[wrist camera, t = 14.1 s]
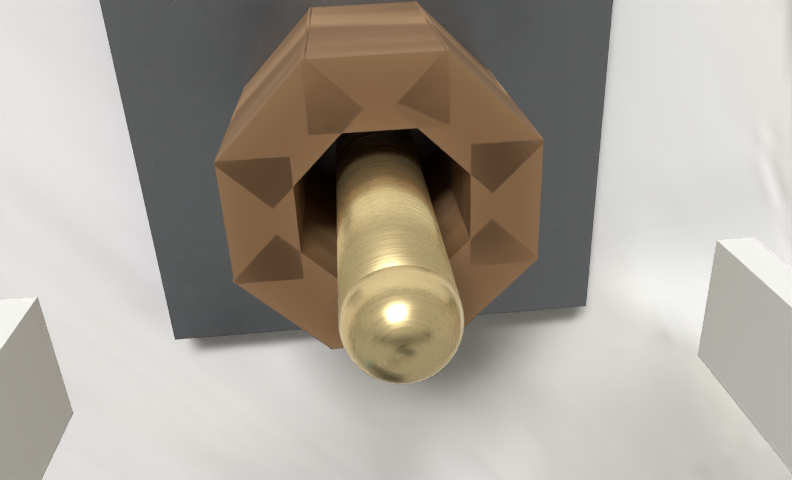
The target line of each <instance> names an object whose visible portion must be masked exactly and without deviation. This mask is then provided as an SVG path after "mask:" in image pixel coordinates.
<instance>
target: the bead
mask: <svg viewBox="0 0 792 480" xmlns="http://www.w3.org/2000/svg"><path fill="white" fill-rule="evenodd" d="M412 128H418V129H419V130H420V131H422V132H423V133H424V134H425V135H426V136H427V137H428V138H430V139H431V140H432V141H433V142H434V143H435V144H436V148H435V149H434V151H433V152H432V153H431V154H430V155H429V156H428V157H427V158H426V159H425V160H424V161H423V162H422V163H421V164H420V166H421V169H422V173H423V176H424V179H425V183H426V186H427V189H428V193H429V196H430V199H431V203H432V206H433V209H434V213H435V216H436V219H437V222H438V226H439V229H440V232H441V236H442V239H443V242H444V246H445V249H446V252H447V256H448V259H449V262H450V266H451V269H452V272H453V276H454V279H455V282H456V286H457V289H458V292H459V296H460V299H461V302H462V307H463V312H464V327H465V326H466V325H467V324H468V323H469V322H470V321H471V320H472V319H473V318H474V317H475V316H477V315H478V314H479V313H480V312H481V311H482V310H483V309H484V308H485V307H486V306H487V305H488V304H490V303H491V302H492V301H493V300H494V299H495V298H496V297H497V296H498V295H499V294H500V293H502V292H503V291H504V290H505V289H506V288H507V287H508V286H509V285H510V284H511V283H512V282H513V281H515V280H516V279H517V278H518V277H519V276H520V275H521V274H522V273H523V272H524V271H525V270H526V269H528V268H529V267H530V266H531V265H532V264H533V263H534V262H535V261H537V259H538V257H537V256H538V237H539V218H540V200H541V181H542V162H543V143H544V139H543V138H542V137H541V135H540V134H539V133H538V132H537V130H536V129H535V128H534V126H533V125H532V124H531V123H530V121H529V120H528V119H527V118H526V116H525V115H524V114H523V112H522V111H521V110H520V109H519V107H518V106H517V105H516V104H515V102H514V101H513V100H512V99H511V97H510V96H509V95H508V93H507V92H506V91H505V90H504V88H503V87H502V86H501V85H500V83H499V82H498V81H497V79H496V78H495V77H494V76H493V74H492V73H491V72H490V71H489V70H487V69H486V68H485V67H484V66H483V65H482V64H481V63H480V62H479V61H478V60H477V59H476V58H475V57H474V56H473V55H472V54H471V53H470V52H468V51H467V50H466V49H465V48H464V47H463V46H462V45H461V44H460V43H459V42H458V41H457V40H456V39H455V38H454V37H453V36H452V35H451V34H450V33H449V32H448V31H447V30H446V29H444V28H443V27H442V26H441V25H440V24H439V23H438V22H437V21H436V20H435V19H434V18H433V17H432V16H431V15H430V14H429V13H428V12H427V11H426V10H425V9H424V8H423V7H422V6H420V4H419V3H418V1H413V2H395V3H378V4H361V5H343V6H326V7H312V6H311V7H309V10H308V11H307V12H306V13H305V15H304V16H303V17H302V18H301V19H300V21H299V22H298V23H297V24H296V25H295V27H294V28H293V29H292V30H291V32H290V33H289V34H288V35H287V36H286V38H285V39H284V40H283V41H282V42H281V44H280V45H279V46H278V47H277V48H276V50H275V51H274V52H273V53H272V54H271V56H270V57H269V58H268V59H267V60H266V62H265V63H264V64H263V65H262V66H261V68H260V69H259V70H258V71H257V73H256V74H255V75H254V76H253V77H252V79H251V80H250V81H249V82H248V83H247V85H245V86H244V89H243V91H242V94H241V96H240V99H239V101H238V104H237V106H236V109H235V111H234V114H233V116H232V119H231V121H230V123H229V126H228V128H227V131H226V133H225V136H224V138H223V141H222V143H221V146H220V148H219V151H218V153H217V156H216V158H215V161H214V164H213V165H214V166H215V170H216V176H217V182H218V188H219V194H220V200H221V206H222V212H223V218H224V224H225V230H226V236H227V242H228V248H229V254H230V260H231V266H232V271H233V277H234V280H233V282H234V283H235V284H237V285H239V286H240V287H242V288H243V289H244V290H246V291H247V292H249V293H250V294H252V295H253V296H255V297H256V298H258V299H259V300H261V301H262V302H264V303H265V304H266V305H268V306H269V307H271V308H272V309H274V310H275V311H277V312H278V313H280V314H281V315H283V316H284V317H286V318H287V319H288V320H290V321H291V322H293V323H294V324H296V325H297V326H299V327H300V328H302V329H303V330H305V331H306V332H308V333H309V334H311V335H312V336H313V337H315V338H316V339H318V340H319V341H321V342H322V343H324V344H325V345H327V346H328V347H330V349H339V348H344V346H343V343H342V341H341V338H340V333H339V326H338V269H337V203H336V178H335V177H333V176H332V175H331V174H330V173H328V172H327V171H326V170H325V169H323V168H322V167H321V166H320V165H318V164H317V163H316V161H317V160H318V159H319V158H320V157H321V155H322V154H323V153H324V152H325V151H326V150H327V149H328V148H329V147H330V145H331V144H332V143H333V142H334V141H335V140H336V139H337V138H338V137H339V136H340V134H341V133H352V132H367V131H382V130H397V129H412Z"/></svg>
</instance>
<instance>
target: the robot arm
mask: <svg viewBox="0 0 792 480" xmlns="http://www.w3.org/2000/svg"><path fill="white" fill-rule="evenodd" d="M698 356H699V357H700V359H701V360H702V361H703V362H704V364H705V365H706V366H707V367H708V369H709V370H710V371H711V372H712V374H713V375H714V376H715V378H716V379H717V380H718V381H719V383H720V384H721V385H722V386H723V388H724V389H725V390H726V391H727V393H728V394H729V395H730V396H731V398H732V399H733V400H734V401H735V403H736V404H737V405H738V406H739V408H740V409H741V410H742V411H743V413H744V414H745V415H746V416H747V418H748V419H749V420H750V421H751V423H752V424H753V425H754V426H755V428H756V429H757V430H758V431H759V433H760V434H761V435H762V436H763V438H764V439H765V440H766V441H767V443H768V444H769V445H770V447H771V448H772V449H773V450H774V452H775V453H776V454H777V455H778V457H779V458H780V459H781V460H782V462H783V463H784V464H785V465H786V467H787V468H788V469H789V470H790V472H791V473H792V267H790V266H789V265H788V264H787V263H786V262H784V261H783V260H782V259H781V258H779V257H778V256H777V255H776V254H774V253H773V252H772V251H771V250H770V249H768V248H767V247H766V246H765V245H763V244H762V243H761V242H760V241H759V240H757V239H756V238H755V237H750V238H737V239H725V240H717V243H716V249H715V255H714V261H713V267H712V273H711V279H710V285H709V291H708V297H707V303H706V309H705V315H704V321H703V327H702V333H701V339H700V345H699V351H698ZM72 415H73V411H72V408H71V404H70V401H69V398H68V395H67V391H66V388H65V385H64V382H63V378H62V375H61V372H60V369H59V365H58V362H57V359H56V356H55V352H54V349H53V346H52V343H51V339H50V336H49V333H48V330H47V326H46V323H45V320H44V317H43V313H42V310H41V307H40V304H39V300H38V297H28V298H16V299H4V300H0V480H42V478H43V475H44V473H45V471H46V469H47V467H48V465H49V463H50V461H51V459H52V457H53V454H54V452H55V450H56V448H57V446H58V444H59V442H60V440H61V438H62V436H63V434H64V431H65V429H66V427H67V425H68V423H69V421H70V419H71V417H72Z"/></svg>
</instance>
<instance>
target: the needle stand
mask: <svg viewBox="0 0 792 480" xmlns="http://www.w3.org/2000/svg"><path fill="white" fill-rule="evenodd" d="M413 1H418V3H419V4H420V6H422V7H423V8H424V9H425V10H426V11H427V12H428V13H429V14H430V15H431V16H432V17H433V18H434V19H435V20H436V21H437V22H438V23H439V24H440V25H441V26H442V27H443V28H444V29H446V30H447V31H448V32H449V33H450V34H451V35H452V36H453V37H454V38H455V39H456V40H457V41H458V42H459V43H460V44H461V45H462V46H463V47H464V48H465V49H466V50H467V51H468V52H470V53H471V54H472V55H473V56H474V57H475V58H476V59H477V60H478V61H479V62H480V63H481V64H482V65H483V66H484V67H485V68H486V69H487V70H489V71H490V72H491V73H492V74H493V76H494V77H495V78H496V79H497V81H498V82H499V83H500V85H501V86H502V87H503V88H504V90H505V91H506V92H507V93H508V95H509V96H510V97H511V99H512V100H513V101H514V102H515V104H516V105H517V106H518V107H519V109H520V110H521V111H522V112H523V114H524V115H525V116H526V118H527V119H528V120H529V121H530V123H531V124H532V125H533V126H534V128H535V129H536V130H537V132H538V133H539V134H540V135H541V137H542V138H543V139H544V143H543V162H542V181H541V200H540V218H539V237H538V256H537V257H538V259H537V261H535V262H534V263H533V264H532V265H531V266H530V267H529V268H528V269H526V270H525V271H524V272H523V273H522V274H521V275H520V276H519V277H518V278H517V279H516V280H515V281H513V282H512V283H511V284H510V285H509V286H508V287H507V288H506V289H505V290H504V291H503V292H502V293H500V294H499V295H498V296H497V297H496V298H495V299H494V300H493V301H492V302H491V303H490V304H488V305H487V306H486V307H485V308H484V309H483V310H482V311H481V312H480V313H479V314H478V315H480V314H492V313H505V312H517V311H529V310H541V309H554V308H566V307H578V306H586V298H587V287H588V275H589V264H590V253H591V242H592V230H593V219H594V208H595V196H596V185H597V174H598V162H599V151H600V140H601V128H602V117H603V106H604V94H605V83H606V72H607V61H608V49H609V38H610V27H611V15H612V4H613V0H100V5H101V9H102V14H103V18H104V23H105V27H106V32H107V36H108V41H109V45H110V50H111V54H112V59H113V63H114V68H115V72H116V77H117V81H118V86H119V90H120V95H121V99H122V104H123V108H124V113H125V117H126V121H127V126H128V130H129V135H130V139H131V144H132V148H133V153H134V157H135V162H136V166H137V171H138V175H139V180H140V184H141V189H142V193H143V198H144V202H145V207H146V211H147V216H148V220H149V225H150V229H151V234H152V238H153V243H154V247H155V252H156V256H157V260H158V265H159V269H160V274H161V278H162V283H163V287H164V292H165V296H166V301H167V305H168V310H169V314H170V319H171V323H172V328H173V332H174V337H175V339H187V338H199V337H212V336H224V335H236V334H248V333H260V332H273V331H285V330H297V329H302V328H300V327H299V326H297V325H296V324H294V323H293V322H291V321H290V320H288V319H287V318H286V317H284V316H283V315H281V314H280V313H278V312H277V311H275V310H274V309H272V308H271V307H269V306H268V305H266V304H265V303H264V302H262V301H261V300H259V299H258V298H256V297H255V296H253V295H252V294H250V293H249V292H247V291H246V290H244V289H243V288H242V287H240V286H239V285H237V284H235V283H234V282H233V280H234V277H233V271H232V266H231V260H230V254H229V248H228V242H227V236H226V230H225V224H224V218H223V212H222V206H221V200H220V194H219V188H218V182H217V176H216V170H215V166H214V165H213V164H214V161H215V158H216V156H217V153H218V151H219V148H220V146H221V143H222V141H223V138H224V136H225V133H226V131H227V128H228V126H229V123H230V121H231V119H232V116H233V114H234V111H235V109H236V106H237V104H238V101H239V99H240V96H241V94H242V91H243V89H244V86H245V85H247V83H248V82H249V81H250V80H251V79H252V77H253V76H254V75H255V74H256V73H257V71H258V70H259V69H260V68H261V66H262V65H263V64H264V63H265V62H266V60H267V59H268V58H269V57H270V56H271V54H272V53H273V52H274V51H275V50H276V48H277V47H278V46H279V45H280V44H281V42H282V41H283V40H284V39H285V38H286V36H287V35H288V34H289V33H290V32H291V30H292V29H293V28H294V27H295V25H296V24H297V23H298V22H299V21H300V19H301V18H302V17H303V16H304V15H305V13H306V12H307V11H308V10H309V7H311V6H312V7H326V6H343V5H361V4H378V3H395V2H413ZM435 148H436V144H435V143H434V142H433V141H432V140H431V139H430V138H428V137H427V136H426V135H425V134H424V133H423V132H422V131H420V130H419V129H418V128H412V129H397V130H382V131H367V132H352V133H341V134H340V136H339V137H338V138H337V139H336V140H335V141H334V142H333V143H332V144H331V145H330V147H329V148H328V149H327V150H326V151H325V152H324V153H323V154H322V155H321V157H320V158H319V159H318V160H317V161H316V163H317V164H318V165H320V166H321V167H322V168H323V169H325V170H326V171H327V172H328V173H330V174H331V175H332V176H333V177H335V178H336V203H337V269H338V326H339V333H340V338H341V341H342V343H343V346H344V348H345V350H346V352H347V354H348V355H349V357H350V358H351V360H352V361H353V362H354V363H355V364H356V365H357V366H358V367H359V368H360V369H361V370H362V371H364V372H365V373H366V374H368V375H369V376H371V377H373V378H375V379H378V380H380V381H383V382H387V383H392V384H411V383H416V382H420V381H423V380H425V379H427V378H430V377H432V376H433V375H435V374H436V373H438V372H439V371H440V370H441V369H443V368H444V367H445V366H446V365H447V364H448V363H449V362H450V360H451V359H452V358H453V356H454V355H455V353H456V351H457V349H458V347H459V345H460V342H461V339H462V335H463V331H464V312H463V307H462V302H461V299H460V296H459V292H458V289H457V286H456V282H455V279H454V276H453V272H452V269H451V266H450V262H449V259H448V256H447V252H446V249H445V246H444V242H443V239H442V236H441V232H440V229H439V226H438V222H437V219H436V216H435V213H434V209H433V206H432V203H431V199H430V196H429V193H428V189H427V186H426V183H425V179H424V176H423V173H422V169H421V166H420V164H421V163H422V162H423V161H424V160H425V159H426V158H427V157H428V156H429V155H430V154H431V153H432V152H433V151H434V149H435Z"/></svg>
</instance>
